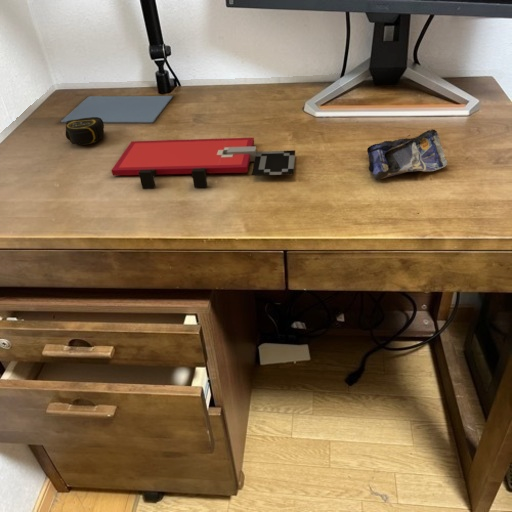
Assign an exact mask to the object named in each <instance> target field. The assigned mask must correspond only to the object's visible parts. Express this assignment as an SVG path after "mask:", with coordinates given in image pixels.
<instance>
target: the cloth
mask: <svg viewBox="0 0 512 512" xmlns="http://www.w3.org/2000/svg"><path fill="white" fill-rule="evenodd" d="M173 98H174V95H88V96H87V98H85V99H84V100H83V101H81V102H80V103H79V104H78V105H77V106H76V107H75V108H74V109H73V110H72V111H71V112H69V113H68V114H67V115H66V116H65V117H64V118H63V119H61V120H60V123H61V124H66V122H67V121H70V120H77V119H82V118H90V117H98V118H101V119H102V120H103V123H104V124H154V123H155V121H156V120H157V119H158V118H159V116H160V115H161V113H162V112H163V111H164V110H165V108H166V107H167V106H168V104H169V103H170V102H171V100H173Z"/></svg>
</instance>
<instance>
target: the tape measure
mask: <svg viewBox="0 0 512 512" xmlns="http://www.w3.org/2000/svg"><path fill="white" fill-rule="evenodd" d="M65 124H66V125H65V137H66V139H67V140H68V141H69V142H70V143H71V144H73V145H79V146H81V145H82V146H83V145H91V144H94V143H96V142H98V141H100V140H102V139H103V138H104V136H105V123H103V120H102V119H101V118H98V117H90V118H82V119H77V120H70V121H67V122H66V123H65Z"/></svg>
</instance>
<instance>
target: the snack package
mask: <svg viewBox="0 0 512 512" xmlns="http://www.w3.org/2000/svg"><path fill="white" fill-rule="evenodd" d="M410 136H411V134H409V135H407V137H410ZM366 149H367V150H366V152H367V156H368V162H369V166H368V171H369V173H370V174H371V176H372V178H373V179H374V180H375V181H380V180H382V179H385V178H389V177H392V176H398V175H402V174H404V173H409V172H410V173H411V172H412V173H413V172H434V171H437V170H441V169H443V168H445V167H446V166H447V165H448V160H447V159H446V157H445V154H446V153H445V151H444V149H443V146H442V144H441V141H440V136H439V134H438V132H437V130H436V129H429V130H426V131H424V132H422V133H420V134H419V135H418V136H415V137H412V138H399V139H394V140H384V141H382V142H379V143H374V144H372V145H369V146H368V147H367V148H366Z"/></svg>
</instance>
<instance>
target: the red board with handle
mask: <svg viewBox="0 0 512 512" xmlns="http://www.w3.org/2000/svg"><path fill="white" fill-rule="evenodd" d="M254 145H255V137H226V138H195V139H167V140H166V139H163V140H162V139H161V140H133V141H131V142H130V143H129V144H128V146H127V147H126V148H125V150H124V151H123V153H122V154H121V155H120V157H119V159H118V160H117V162H116V163H115V164H114V166H113V167H112V169H111V170H110V171H111V174H112V176H138V177H139V180H140V184H141V188H142V189H143V190H144V189H155V187H156V182H155V176H157V175H184V174H185V175H190V174H191V176H192V183H193V187H194V188H196V189H197V188H207V187H208V181H207V174H228V173H229V174H235V173H236V174H237V173H238V174H240V173H243V174H244V173H248V170H249V165H250V163H252V162H253V167H252V171H251V176H277V175H278V176H281V175H283V176H285V175H286V176H287V175H294V173H295V161H296V160H295V159H296V150H295V149H294V150H260V151H257V150H258V149H257V146H254Z"/></svg>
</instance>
